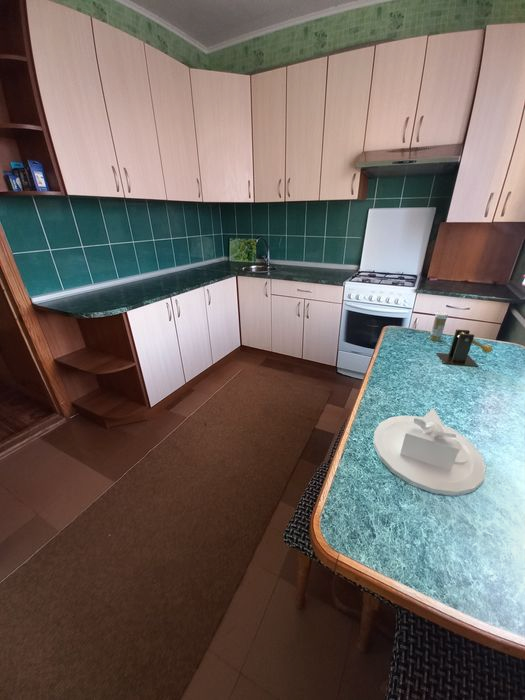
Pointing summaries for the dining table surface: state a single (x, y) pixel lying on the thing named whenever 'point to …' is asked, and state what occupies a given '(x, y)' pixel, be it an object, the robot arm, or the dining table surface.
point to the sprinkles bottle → (438, 326)
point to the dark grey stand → (459, 350)
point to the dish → (429, 454)
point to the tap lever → (480, 345)
